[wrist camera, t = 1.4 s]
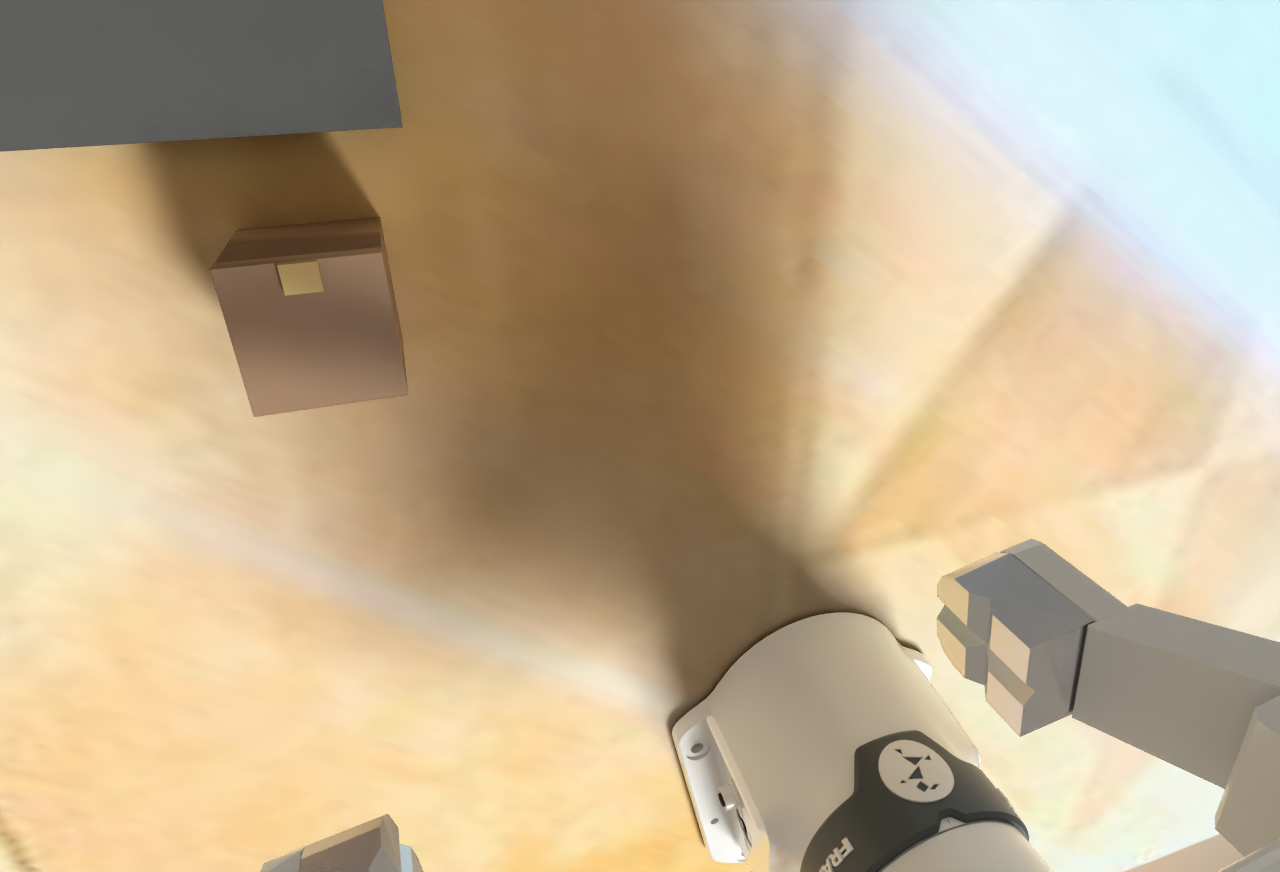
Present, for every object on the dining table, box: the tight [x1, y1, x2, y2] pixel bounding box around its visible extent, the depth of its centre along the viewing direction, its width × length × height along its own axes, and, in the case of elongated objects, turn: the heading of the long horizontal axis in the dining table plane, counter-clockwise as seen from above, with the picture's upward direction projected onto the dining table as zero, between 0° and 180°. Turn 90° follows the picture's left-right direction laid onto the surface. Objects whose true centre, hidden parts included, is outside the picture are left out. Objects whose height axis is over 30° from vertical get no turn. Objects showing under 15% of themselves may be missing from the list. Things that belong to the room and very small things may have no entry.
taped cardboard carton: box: [210, 217, 408, 417], centre depth 28 cm, size 5×5×6 cm
